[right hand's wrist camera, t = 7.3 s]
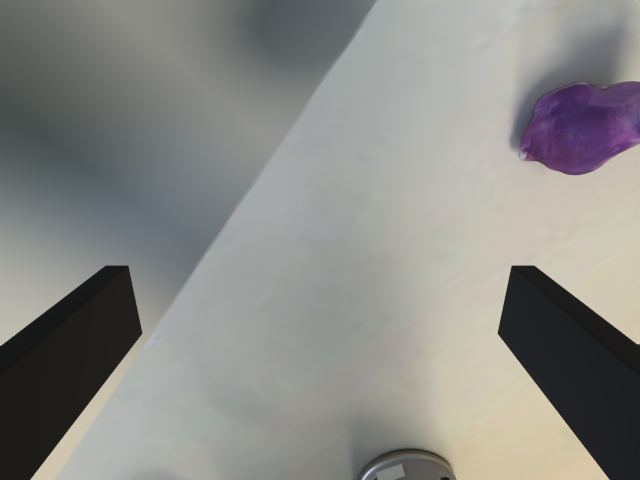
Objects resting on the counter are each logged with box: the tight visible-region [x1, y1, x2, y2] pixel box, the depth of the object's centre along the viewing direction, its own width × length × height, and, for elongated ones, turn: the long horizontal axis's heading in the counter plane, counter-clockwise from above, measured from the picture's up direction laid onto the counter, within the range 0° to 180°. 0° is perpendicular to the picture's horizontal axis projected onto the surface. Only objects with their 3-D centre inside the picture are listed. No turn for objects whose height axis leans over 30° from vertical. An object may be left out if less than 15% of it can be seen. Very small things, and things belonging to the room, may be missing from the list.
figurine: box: [518, 81, 640, 175], centre depth 30 cm, size 9×10×15 cm
